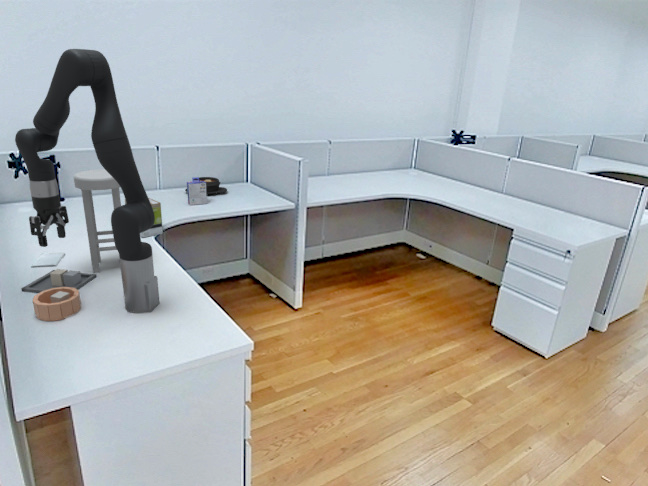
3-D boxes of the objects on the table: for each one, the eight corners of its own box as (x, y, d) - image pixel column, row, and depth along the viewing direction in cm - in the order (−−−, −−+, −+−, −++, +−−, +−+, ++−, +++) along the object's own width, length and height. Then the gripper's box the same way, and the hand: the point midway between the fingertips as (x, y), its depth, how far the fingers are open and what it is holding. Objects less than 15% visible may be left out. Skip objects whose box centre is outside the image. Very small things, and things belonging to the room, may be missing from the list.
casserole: (183, 196, 264) (183, 182, 261) (186, 189, 281) (185, 176, 278) (227, 196, 269) (227, 183, 266) (227, 189, 286) (227, 176, 283)
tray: (97, 277, 158) (96, 274, 157) (68, 297, 144) (67, 293, 143) (54, 273, 160) (53, 269, 159) (22, 292, 146) (21, 288, 145)
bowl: (89, 304, 141) (87, 289, 139) (64, 323, 130) (61, 307, 128) (54, 300, 142) (51, 285, 140) (26, 318, 131) (23, 302, 129)
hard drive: (55, 264, 164) (65, 252, 175) (30, 266, 162) (41, 253, 173) (56, 268, 165) (65, 255, 176) (31, 270, 163) (42, 257, 174)
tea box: (163, 233, 204) (161, 202, 198) (142, 238, 197) (139, 205, 191) (147, 225, 213) (145, 195, 208) (127, 229, 206) (123, 198, 201)
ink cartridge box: (205, 201, 256) (203, 176, 251) (207, 204, 252) (206, 178, 247) (187, 202, 252) (185, 177, 247) (189, 205, 247) (188, 179, 242)
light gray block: (81, 283, 153) (80, 271, 151) (75, 288, 149) (73, 275, 148) (72, 282, 153) (70, 270, 151) (65, 286, 150) (62, 274, 148)
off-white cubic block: (69, 282, 153) (67, 270, 152) (62, 286, 150) (60, 274, 148) (59, 281, 153) (57, 268, 152) (52, 285, 150) (50, 273, 149)
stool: (88, 260, 171) (75, 169, 159) (132, 256, 177) (123, 168, 165) (86, 277, 158) (71, 179, 146) (133, 271, 164) (123, 177, 152)
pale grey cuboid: (71, 306, 137) (69, 292, 136) (62, 311, 134) (60, 298, 132) (61, 304, 138) (59, 291, 136) (52, 309, 135) (50, 296, 133)
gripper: (39, 200, 134) (48, 250, 139) (71, 189, 147) (77, 235, 153) (16, 198, 134) (26, 248, 140) (49, 187, 148) (57, 233, 153)
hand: (53, 241), depth 146 cm, fingers open, 8 cm apart
